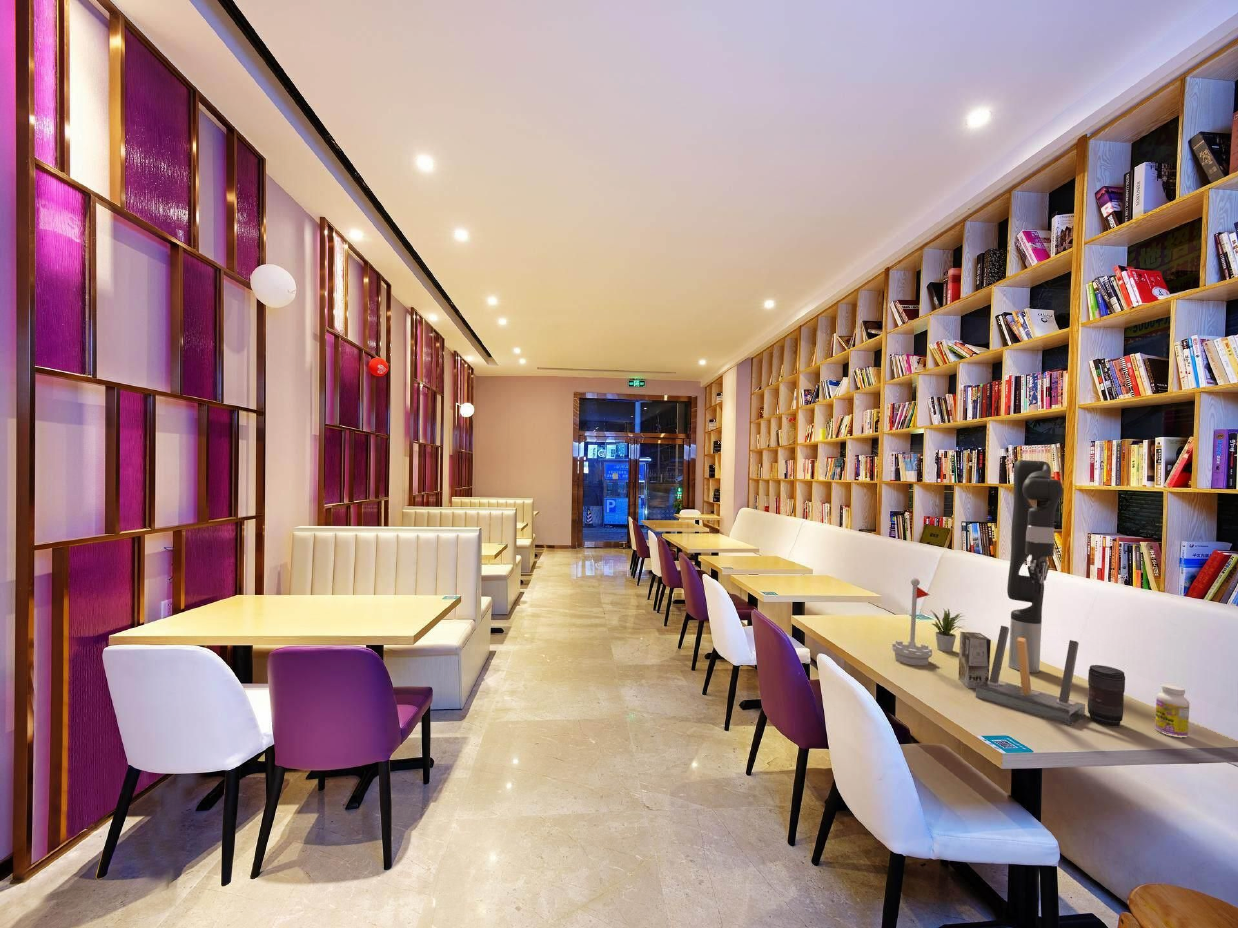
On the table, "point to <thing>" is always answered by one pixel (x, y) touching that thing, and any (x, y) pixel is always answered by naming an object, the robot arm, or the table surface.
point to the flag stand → (913, 636)
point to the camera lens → (1106, 695)
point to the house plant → (946, 631)
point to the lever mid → (1024, 667)
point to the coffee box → (974, 659)
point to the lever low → (998, 657)
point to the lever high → (1068, 674)
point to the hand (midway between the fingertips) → (1037, 594)
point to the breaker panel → (1031, 702)
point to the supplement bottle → (1172, 711)
